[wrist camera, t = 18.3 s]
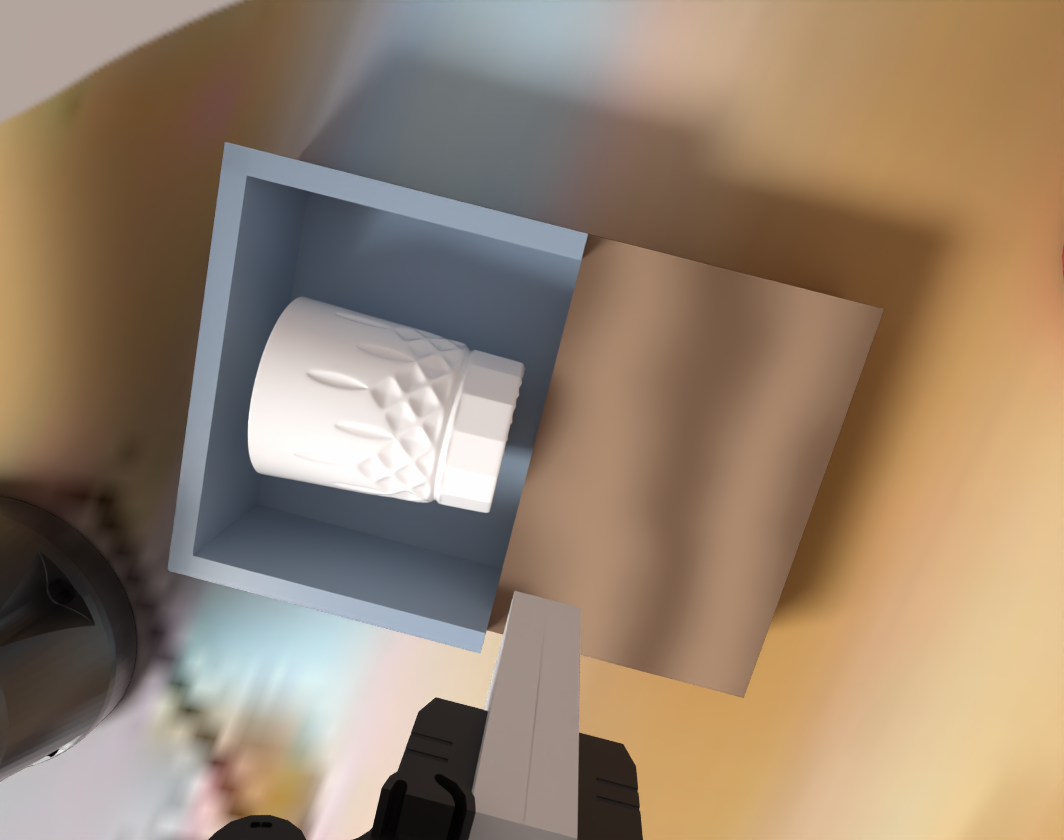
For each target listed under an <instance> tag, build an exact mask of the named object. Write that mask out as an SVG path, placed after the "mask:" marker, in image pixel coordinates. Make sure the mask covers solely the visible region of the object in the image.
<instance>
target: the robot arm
mask: <svg viewBox="0 0 1064 840" xmlns="http://www.w3.org/2000/svg"><path fill="white" fill-rule="evenodd" d="M580 627H581V608H580V607H576V606H572V605H568V604H564V603H560V602H557V601H553V600H549V599H545V598H541V597H537V596H533V595H529V594H526V593H522V592H518V591H514V595H513V599H512V603H511V606H510V610H509V614H508V618H507V622H506V625H505V629H504V633H503V637H502V641H501V644H500V648H499V652H498V656H497V660H496V663H495V667H494V671H493V675H492V679H491V682H490V686H489V690H488V694H487V698H486V703H485V707H484V710H482V709H478V708H475V707H471V706H467V705H463V704H459V703H455V702H452V701H448V700H444V699H440V698H434V699H433V700H432V701H431V702H430V703H428V704H427V705H426V706H425V707H424V708H422V709H421V710H420V711H419V712H418V715H417V718H416V721H415V723H414V726H413V729H412V732H411V736H410V738H409V740H408V743H407V746H406V749H405V752H404V755H403V757H402V760H401V763H400V766H399V769H398V771H397V772H396V773H394V774H392V775H391V776H390V777H389V778H388V779H387V781H386V782H385V784H384V785H383V787H382V789H381V794H380V798H379V802H378V806H377V811H376V815H375V819H374V824H373V828H372V829H371V830H370V831H368V832H367V833H365V834H364V835H362V836H360V837H359V838H356V839H353V840H643V836H642V826H641V815H640V811H639V808H640V804H639V794H638V793H637V791H638V783H637V772H636V766H635V764H634V762H633V760H632V759H631V757H630V755H629V753H628V752H627V750H626V748H625V747H624V745H623V744H621V743H617V742H613V741H609V740H605V739H602V738H598V737H594V736H590V735H586V734H582V733H579V694H580ZM135 659H136V631H135V624H134V619H133V615H132V611H131V608H130V605H129V602H128V599H127V597H126V594H125V592H124V590H123V588H122V586H121V584H120V582H119V580H118V578H117V577H116V575H115V573H114V572H113V570H112V569H111V567H110V566H109V565H108V563H107V562H106V561H105V559H104V558H103V557H102V556H101V554H100V553H99V552H98V551H97V550H96V549H95V548H94V547H93V546H92V544H91V543H90V542H89V541H87V540H86V539H85V538H84V537H83V536H82V535H81V534H80V533H78V532H77V531H76V530H75V529H73V528H72V527H71V526H69V525H68V524H66V523H65V522H64V521H62V520H60V519H59V518H57V517H55V516H54V515H52V514H50V513H48V512H46V511H44V510H42V509H40V508H38V507H35V506H33V505H30V504H27V503H25V502H21V501H18V500H15V499H11V498H6V497H0V781H2V780H4V779H6V778H7V777H9V776H11V775H13V774H15V773H17V772H18V771H20V770H22V769H24V768H26V767H29V766H33V765H36V764H39V763H42V762H45V761H47V760H49V759H51V758H54V757H56V756H58V755H60V754H62V753H63V752H65V751H67V750H68V749H70V748H71V747H73V746H74V745H76V744H77V743H78V742H80V741H81V740H82V739H83V738H85V737H86V736H87V735H88V734H89V733H90V732H91V731H92V730H93V729H94V728H95V727H96V726H97V725H98V724H99V723H100V722H101V721H102V720H103V719H104V718H105V717H106V716H107V715H108V714H109V713H110V712H111V711H112V710H113V709H114V708H115V706H116V705H117V704H118V702H119V701H120V700H121V698H122V696H123V695H124V693H125V691H126V689H127V687H128V685H129V682H130V680H131V677H132V673H133V669H134V665H135ZM209 840H306V838H305V837H304V835H303V833H302V831H301V830H300V829H299V828H297V827H296V826H295V825H293V824H292V823H291V822H289V821H288V820H285V819H282V818H278V817H275V816H271V815H250V816H247V817H244V818H241V819H238V820H235V821H231V822H230V823H228V824H227V825H226V826H224V827H223V828H221V829H220V830H219V831H217V832H216V833H215V834H214V835H213V836H212V837H211V838H210V839H209Z"/></svg>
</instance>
